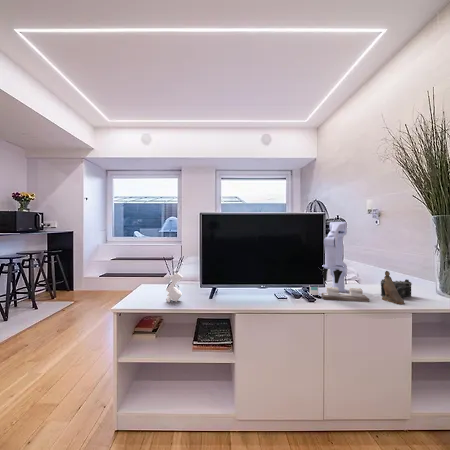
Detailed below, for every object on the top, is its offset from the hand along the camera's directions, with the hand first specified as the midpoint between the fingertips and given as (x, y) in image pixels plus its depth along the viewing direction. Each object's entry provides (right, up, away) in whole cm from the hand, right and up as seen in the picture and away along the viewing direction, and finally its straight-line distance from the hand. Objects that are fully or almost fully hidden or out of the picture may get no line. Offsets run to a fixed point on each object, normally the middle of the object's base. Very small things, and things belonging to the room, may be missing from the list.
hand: (330, 281), depth 170 cm
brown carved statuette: (+32, -10, -6) cm, 34 cm away
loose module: (-7, -10, +8) cm, 14 cm away
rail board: (+8, -10, +1) cm, 13 cm away
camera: (+40, -10, +3) cm, 41 cm away
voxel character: (-89, -11, -3) cm, 89 cm away
